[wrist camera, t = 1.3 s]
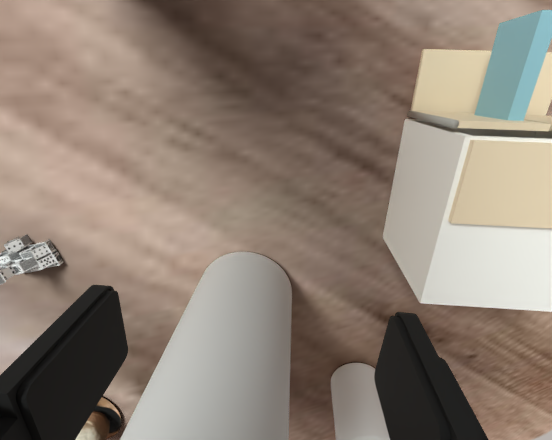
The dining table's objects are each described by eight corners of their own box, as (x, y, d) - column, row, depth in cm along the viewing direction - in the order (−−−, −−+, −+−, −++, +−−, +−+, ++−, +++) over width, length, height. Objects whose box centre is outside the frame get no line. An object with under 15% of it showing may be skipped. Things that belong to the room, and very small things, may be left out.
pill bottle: (343, 354, 46) (363, 468, 32) (391, 371, 47) (430, 489, 33) (320, 387, 49) (330, 503, 35) (365, 402, 50) (391, 522, 36)
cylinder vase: (184, 282, 42) (51, 511, 20) (248, 231, 39) (177, 440, 16) (245, 337, 46) (194, 586, 23) (310, 294, 42) (327, 543, 19)
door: (423, 28, 28) (481, 0, 19) (501, 29, 28) (596, 3, 19) (406, 116, 31) (449, 128, 22) (476, 119, 31) (548, 132, 22)
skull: (57, 440, 57) (13, 458, 47) (81, 378, 61) (45, 385, 51) (117, 455, 56) (84, 478, 46) (138, 392, 60) (112, 401, 50)
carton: (418, 49, 30) (500, 24, 18) (568, 53, 29) (760, 29, 17) (382, 237, 38) (422, 307, 26) (499, 243, 37) (595, 318, 25)
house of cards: (44, 202, 39) (-11, 227, 32) (77, 259, 42) (33, 293, 35) (-14, 216, 41) (-78, 242, 34) (22, 270, 44) (-30, 305, 37)
